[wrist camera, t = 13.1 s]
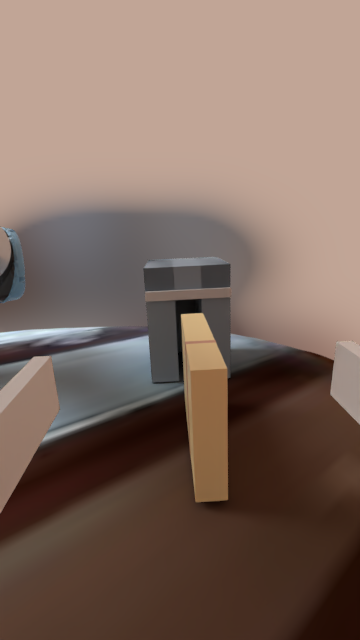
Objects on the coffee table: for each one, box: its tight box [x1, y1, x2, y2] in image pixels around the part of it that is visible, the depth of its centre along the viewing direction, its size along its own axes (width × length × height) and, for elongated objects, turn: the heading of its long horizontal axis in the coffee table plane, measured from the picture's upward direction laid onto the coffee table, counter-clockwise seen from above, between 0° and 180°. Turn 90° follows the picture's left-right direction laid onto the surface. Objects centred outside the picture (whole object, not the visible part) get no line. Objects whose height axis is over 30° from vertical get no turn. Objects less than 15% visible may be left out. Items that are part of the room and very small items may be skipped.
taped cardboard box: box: [181, 313, 228, 502], centre depth 30 cm, size 15×3×11 cm, turn 2°
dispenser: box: [144, 257, 231, 383], centre depth 48 cm, size 13×11×16 cm
